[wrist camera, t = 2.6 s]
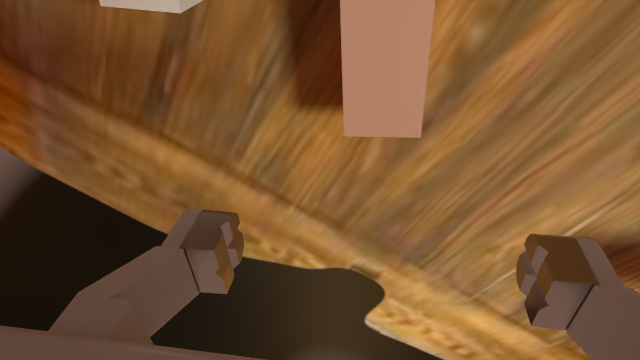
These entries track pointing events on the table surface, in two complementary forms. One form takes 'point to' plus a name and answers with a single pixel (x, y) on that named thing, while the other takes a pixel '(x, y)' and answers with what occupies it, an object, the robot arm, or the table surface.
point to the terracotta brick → (385, 65)
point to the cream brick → (152, 4)
